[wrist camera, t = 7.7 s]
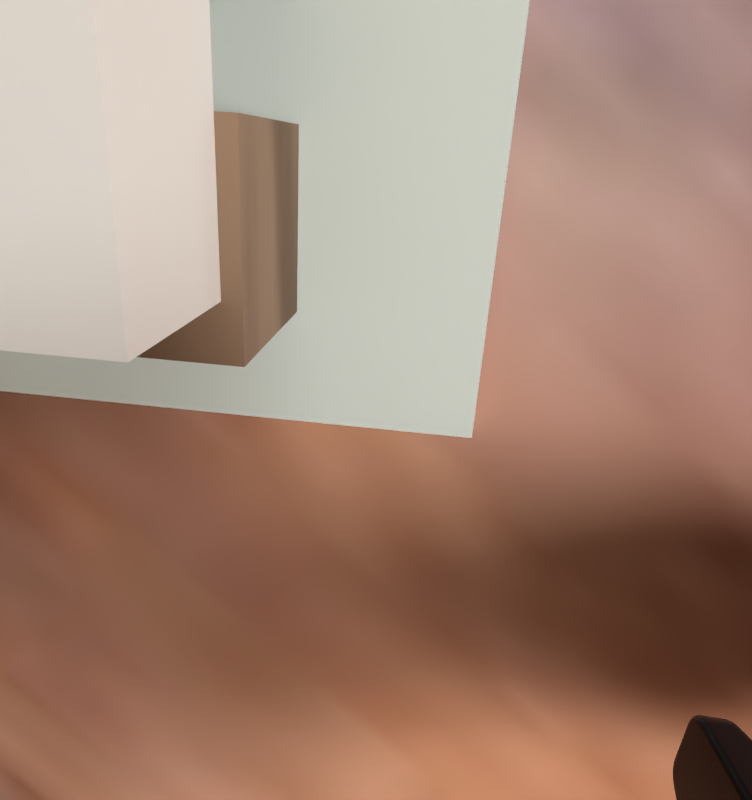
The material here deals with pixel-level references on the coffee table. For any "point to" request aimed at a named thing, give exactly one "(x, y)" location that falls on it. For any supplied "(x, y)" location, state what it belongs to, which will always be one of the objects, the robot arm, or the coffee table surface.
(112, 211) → the lintel
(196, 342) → the block
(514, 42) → the board
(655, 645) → the coffee table surface
